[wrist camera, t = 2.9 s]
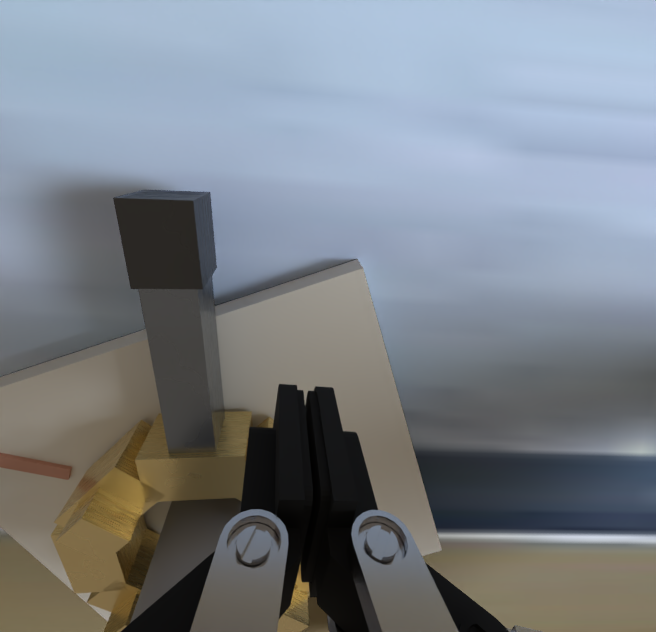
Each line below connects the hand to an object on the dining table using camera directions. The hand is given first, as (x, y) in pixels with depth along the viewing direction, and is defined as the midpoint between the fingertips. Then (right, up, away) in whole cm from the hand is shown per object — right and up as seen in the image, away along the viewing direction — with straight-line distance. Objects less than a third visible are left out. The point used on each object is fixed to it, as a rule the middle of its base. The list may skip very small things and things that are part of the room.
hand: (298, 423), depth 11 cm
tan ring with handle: (-5, -3, +8) cm, 10 cm away
